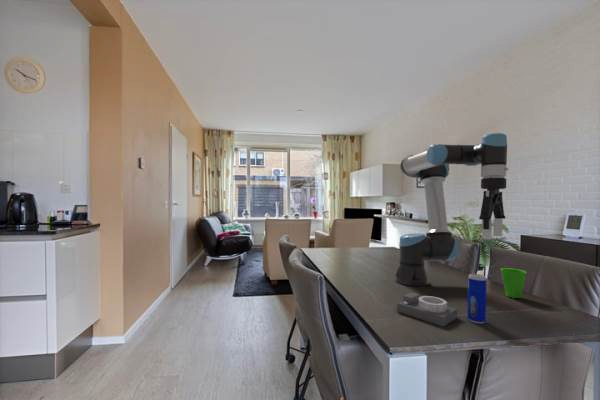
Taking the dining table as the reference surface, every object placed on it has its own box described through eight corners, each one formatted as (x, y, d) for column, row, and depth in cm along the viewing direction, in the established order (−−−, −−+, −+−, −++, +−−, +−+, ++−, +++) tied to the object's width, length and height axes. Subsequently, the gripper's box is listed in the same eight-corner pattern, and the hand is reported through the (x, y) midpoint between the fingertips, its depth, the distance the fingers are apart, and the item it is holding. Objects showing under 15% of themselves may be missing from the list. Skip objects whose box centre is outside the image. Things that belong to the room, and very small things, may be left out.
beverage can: (464, 317, 99) (464, 273, 99) (478, 317, 99) (479, 273, 99) (474, 324, 93) (475, 277, 93) (489, 323, 94) (490, 277, 94)
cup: (531, 301, 116) (532, 273, 116) (506, 299, 118) (506, 272, 118) (519, 294, 125) (519, 268, 125) (495, 292, 127) (496, 267, 127)
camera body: (396, 311, 103) (397, 295, 103) (412, 304, 110) (412, 290, 110) (443, 326, 91) (443, 309, 91) (457, 317, 98) (457, 301, 98)
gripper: (496, 174, 92) (494, 241, 92) (514, 179, 109) (513, 236, 109) (469, 175, 98) (468, 239, 98) (491, 180, 115) (490, 234, 115)
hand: (492, 237), depth 103 cm, fingers open, 13 cm apart
